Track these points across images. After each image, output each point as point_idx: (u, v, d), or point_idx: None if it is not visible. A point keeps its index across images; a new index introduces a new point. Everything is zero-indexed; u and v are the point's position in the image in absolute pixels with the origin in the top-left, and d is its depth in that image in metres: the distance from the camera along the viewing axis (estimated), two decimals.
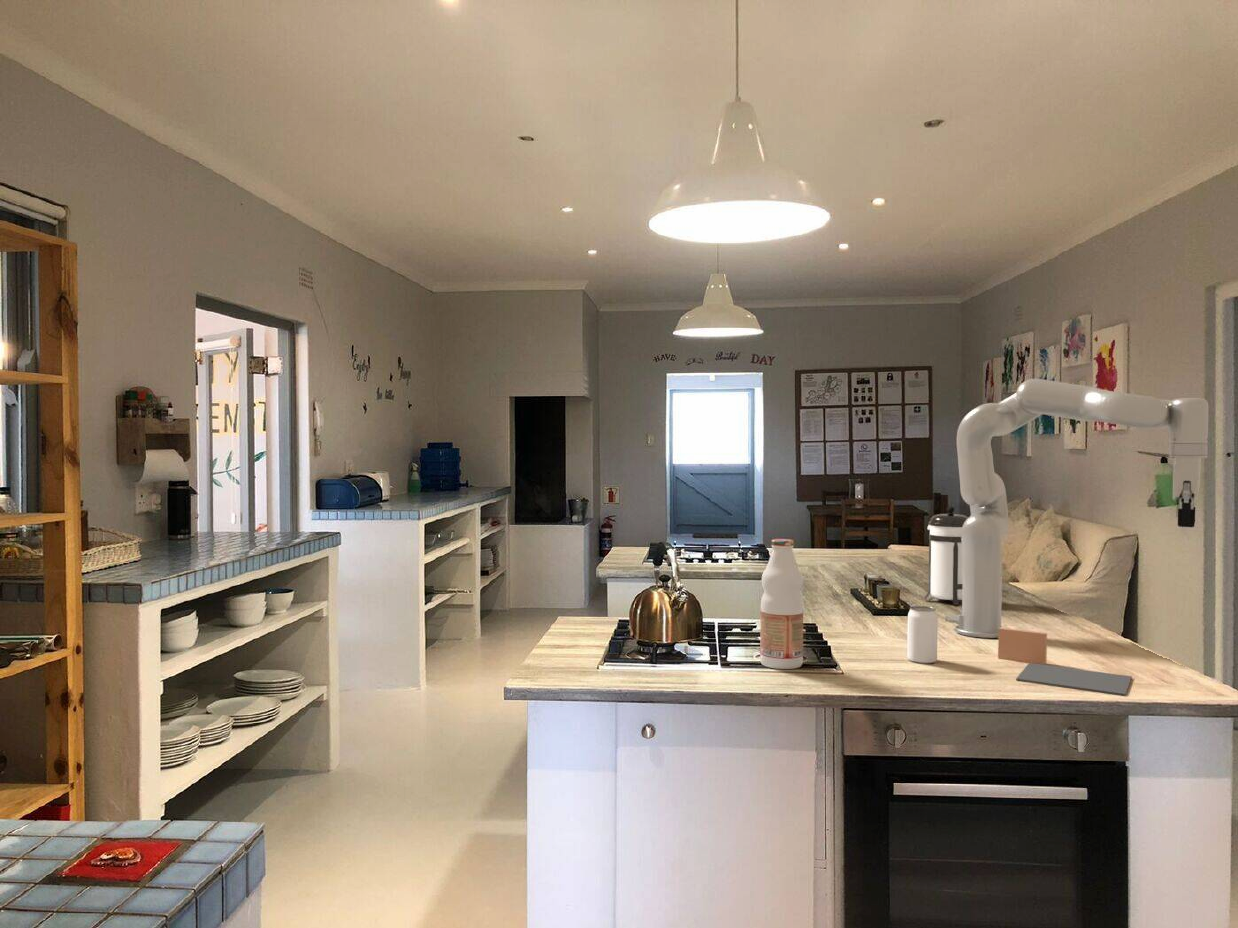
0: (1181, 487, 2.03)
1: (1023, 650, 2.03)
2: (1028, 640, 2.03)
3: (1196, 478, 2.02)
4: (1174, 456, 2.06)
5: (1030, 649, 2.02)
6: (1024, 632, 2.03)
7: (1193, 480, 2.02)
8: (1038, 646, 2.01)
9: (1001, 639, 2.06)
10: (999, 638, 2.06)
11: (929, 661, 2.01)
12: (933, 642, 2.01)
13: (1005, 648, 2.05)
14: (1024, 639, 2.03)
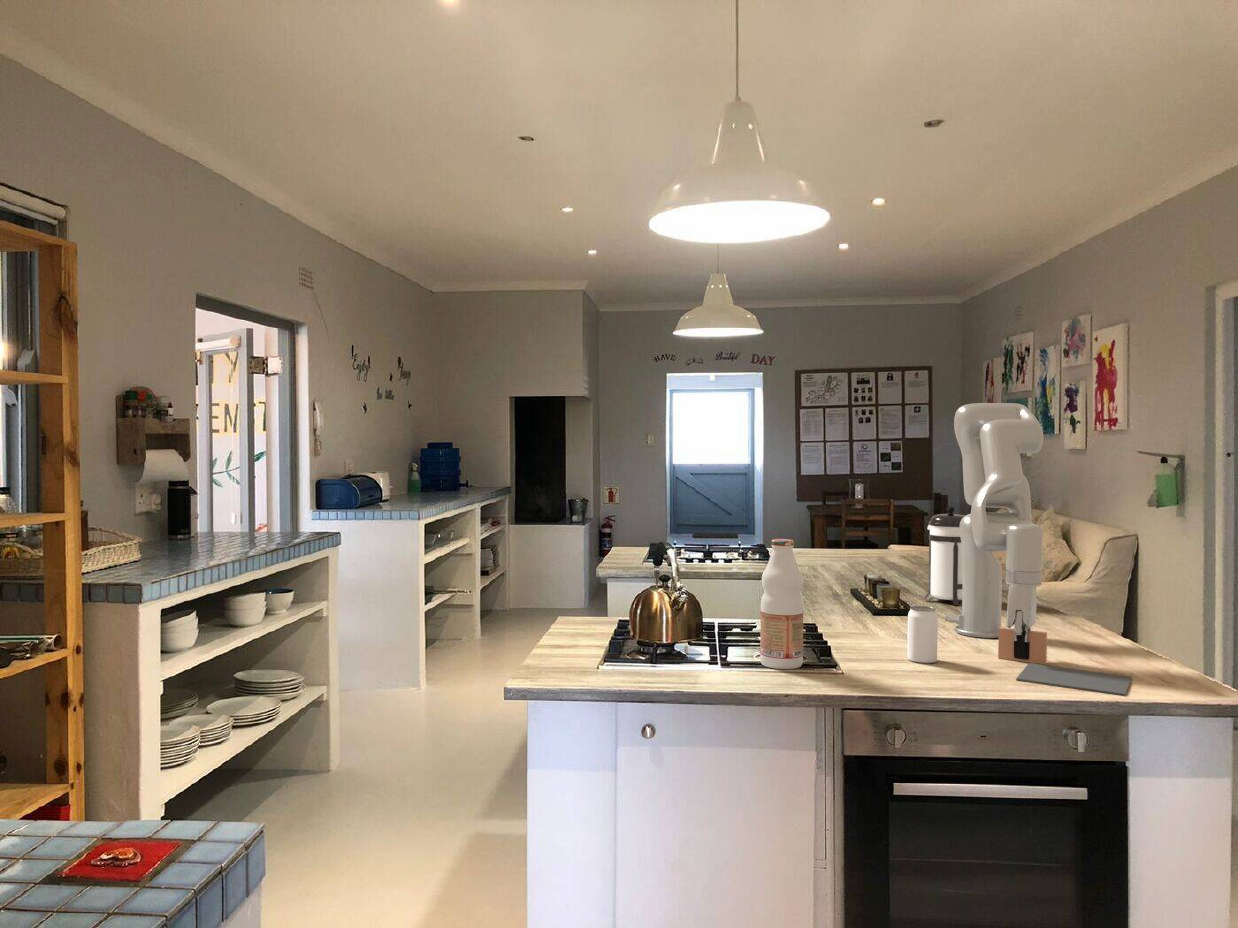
0: (1013, 616, 2.00)
1: None
2: (1028, 639, 2.02)
3: (1028, 608, 1.99)
4: (1009, 583, 2.03)
5: (1030, 648, 2.02)
6: None
7: (1025, 610, 1.99)
8: (1038, 645, 2.01)
9: (1001, 639, 2.06)
10: (999, 638, 2.06)
11: (929, 661, 2.01)
12: (933, 642, 2.01)
13: (1005, 648, 2.05)
14: None
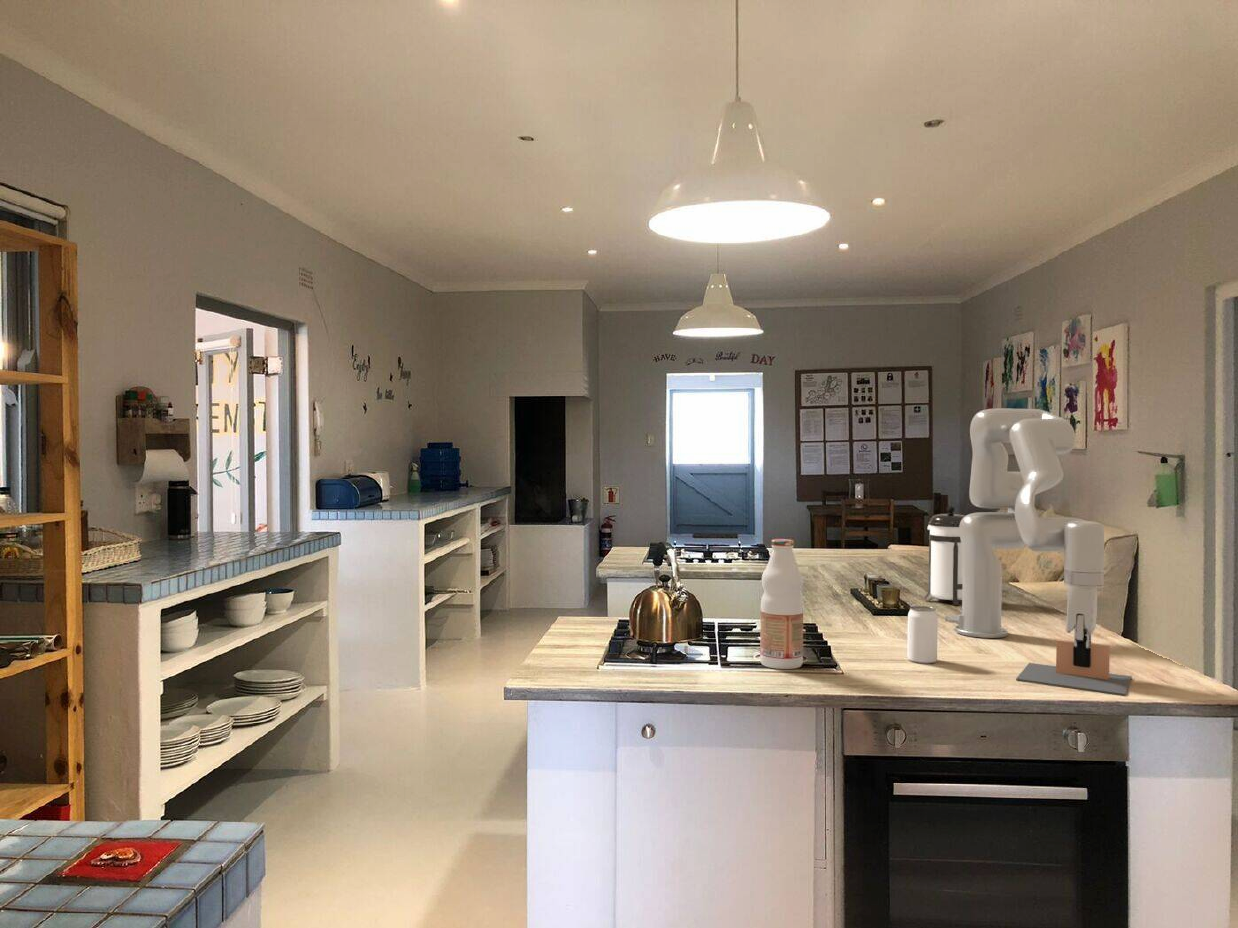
0: (1074, 620, 1.86)
1: None
2: None
3: (1090, 611, 1.85)
4: (1068, 585, 1.89)
5: (1092, 663, 1.88)
6: None
7: (1087, 613, 1.85)
8: (1100, 659, 1.87)
9: (1059, 652, 1.92)
10: (1057, 651, 1.92)
11: (929, 661, 2.01)
12: (933, 642, 2.01)
13: (1064, 661, 1.91)
14: None
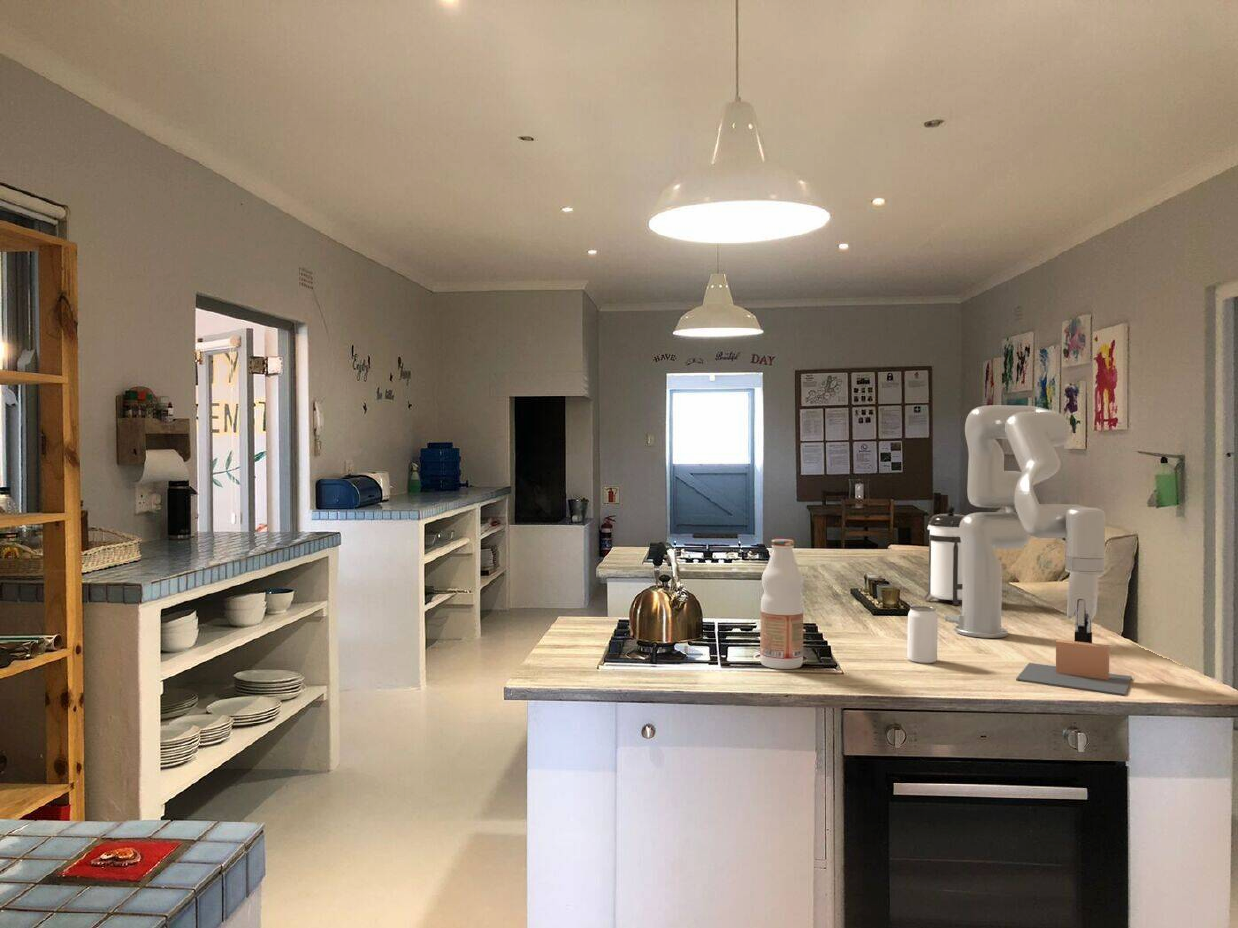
0: (1075, 606, 1.87)
1: (1083, 664, 1.89)
2: (1089, 654, 1.88)
3: (1091, 597, 1.86)
4: (1069, 571, 1.90)
5: (1091, 663, 1.88)
6: (1084, 645, 1.88)
7: (1087, 599, 1.86)
8: (1100, 660, 1.87)
9: (1059, 652, 1.91)
10: (1057, 651, 1.91)
11: (929, 661, 2.01)
12: (933, 642, 2.01)
13: (1063, 662, 1.91)
14: (1084, 653, 1.88)
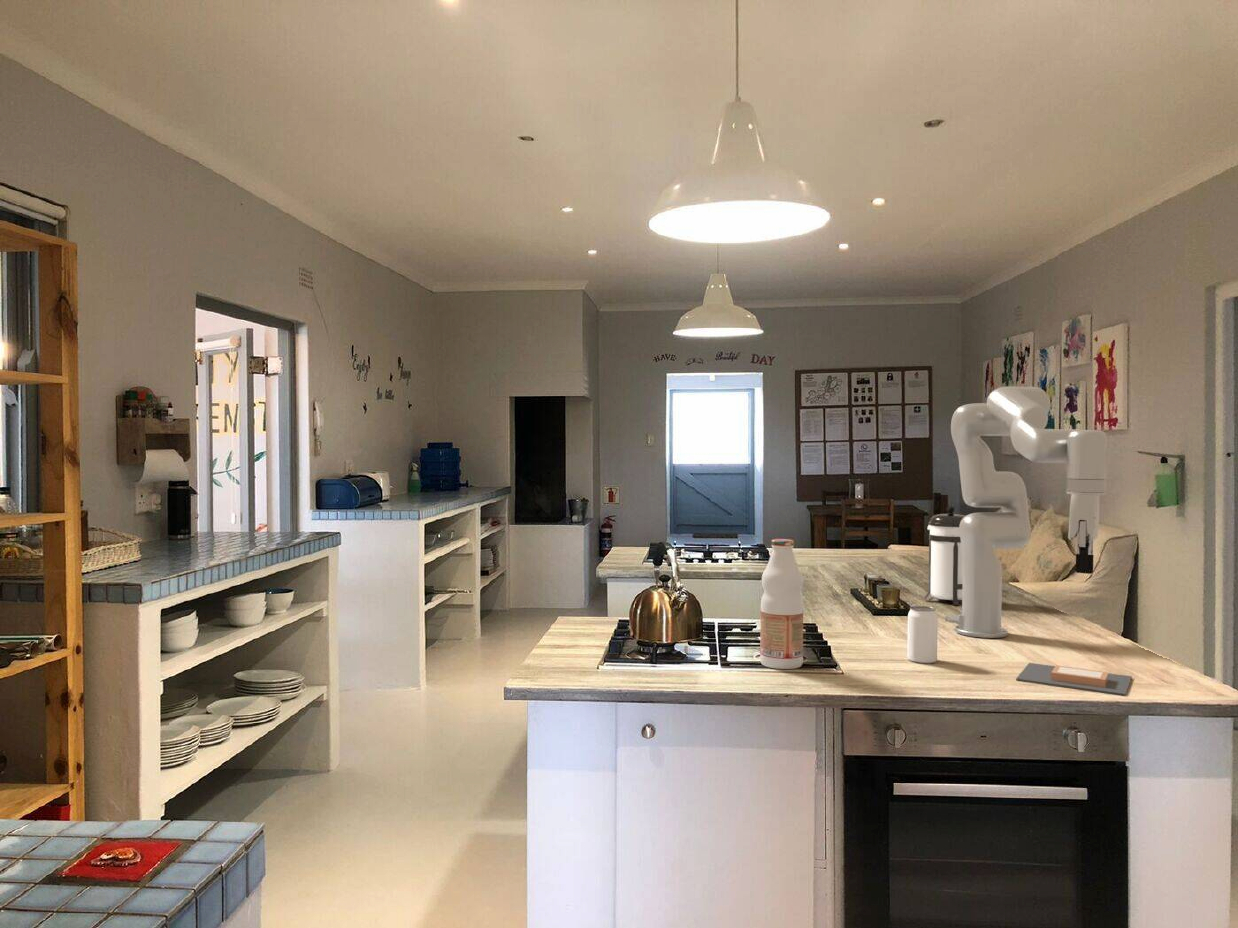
0: (1076, 527, 1.87)
1: None
2: None
3: (1092, 517, 1.86)
4: (1070, 493, 1.90)
5: None
6: None
7: (1089, 519, 1.86)
8: None
9: None
10: None
11: (929, 661, 2.01)
12: (933, 642, 2.01)
13: None
14: None
